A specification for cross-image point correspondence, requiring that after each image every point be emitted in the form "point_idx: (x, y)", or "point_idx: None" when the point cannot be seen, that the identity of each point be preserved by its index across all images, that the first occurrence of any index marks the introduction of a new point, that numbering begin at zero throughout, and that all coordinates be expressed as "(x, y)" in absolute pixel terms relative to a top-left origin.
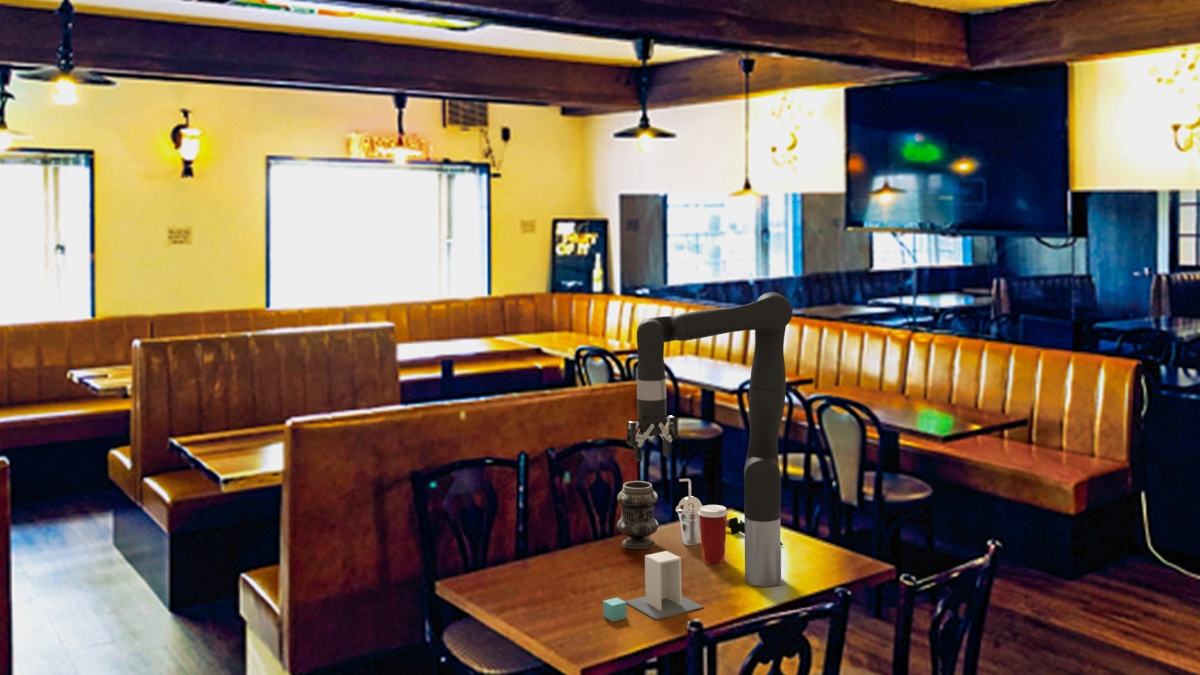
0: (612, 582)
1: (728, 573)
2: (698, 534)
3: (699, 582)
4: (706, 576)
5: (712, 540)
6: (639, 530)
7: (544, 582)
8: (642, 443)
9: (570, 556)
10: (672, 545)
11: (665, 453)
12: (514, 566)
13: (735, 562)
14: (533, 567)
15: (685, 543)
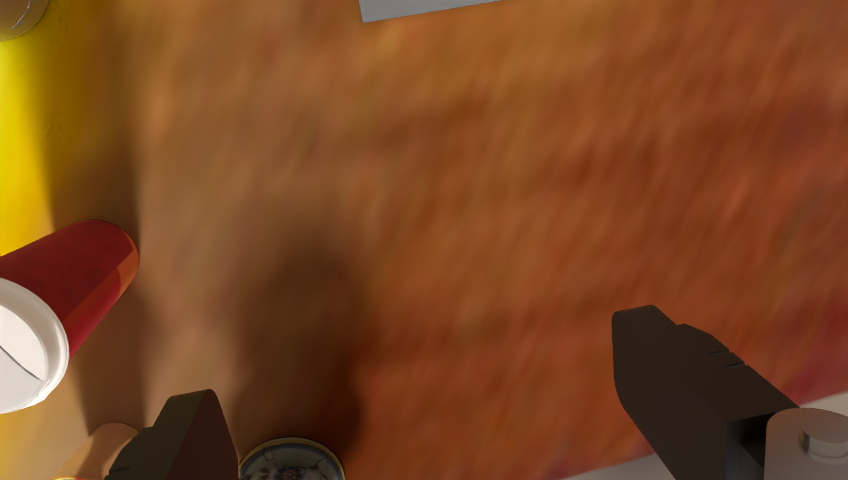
0: (505, 193)
1: (87, 113)
2: (78, 448)
3: (229, 68)
4: (180, 117)
5: (71, 249)
6: (300, 476)
7: (682, 273)
8: (770, 465)
9: (520, 447)
10: None
11: (216, 450)
12: None
13: (20, 212)
14: None
15: None
